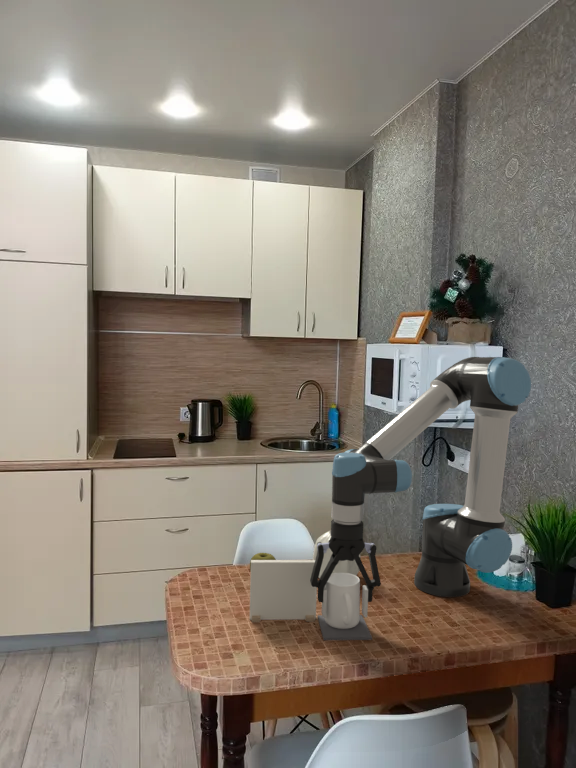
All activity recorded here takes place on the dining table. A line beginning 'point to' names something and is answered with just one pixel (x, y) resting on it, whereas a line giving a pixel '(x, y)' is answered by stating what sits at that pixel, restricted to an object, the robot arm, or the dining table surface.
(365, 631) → the pad
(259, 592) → the screen
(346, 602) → the mug
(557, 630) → the dining table surface
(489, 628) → the dining table surface
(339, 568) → the vase
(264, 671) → the dining table surface
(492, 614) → the dining table surface
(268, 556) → the apple
